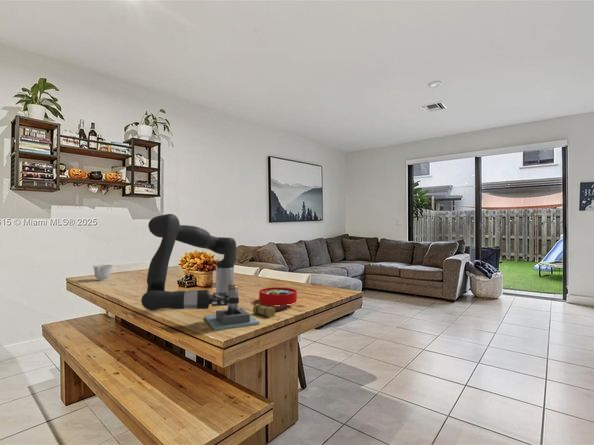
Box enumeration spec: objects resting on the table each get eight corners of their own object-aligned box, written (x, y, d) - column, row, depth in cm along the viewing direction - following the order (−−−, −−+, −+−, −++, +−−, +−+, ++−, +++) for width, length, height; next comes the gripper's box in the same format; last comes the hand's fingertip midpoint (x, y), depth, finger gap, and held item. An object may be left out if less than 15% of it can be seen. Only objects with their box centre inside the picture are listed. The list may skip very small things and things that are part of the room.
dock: (204, 317, 138) (204, 308, 138) (244, 313, 146) (245, 304, 146) (214, 330, 122) (214, 319, 122) (259, 324, 130) (259, 314, 130)
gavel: (284, 299, 162) (299, 303, 155) (283, 309, 162) (298, 312, 155) (253, 304, 146) (268, 308, 139) (252, 314, 146) (267, 318, 139)
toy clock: (260, 287, 181) (296, 287, 181) (260, 297, 181) (296, 298, 181) (257, 294, 161) (297, 295, 161) (257, 306, 161) (297, 306, 161)
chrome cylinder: (226, 319, 133) (227, 285, 133) (235, 318, 135) (236, 284, 135) (228, 321, 129) (229, 286, 130) (238, 320, 131) (239, 286, 131)
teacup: (87, 282, 214) (87, 267, 214) (96, 278, 229) (96, 264, 229) (107, 282, 217) (107, 267, 217) (114, 278, 231) (115, 264, 231)
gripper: (195, 293, 122) (239, 292, 126) (198, 286, 136) (237, 286, 140) (194, 313, 122) (239, 312, 126) (197, 304, 136) (237, 303, 140)
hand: (238, 298), depth 133 cm, fingers open, 7 cm apart
